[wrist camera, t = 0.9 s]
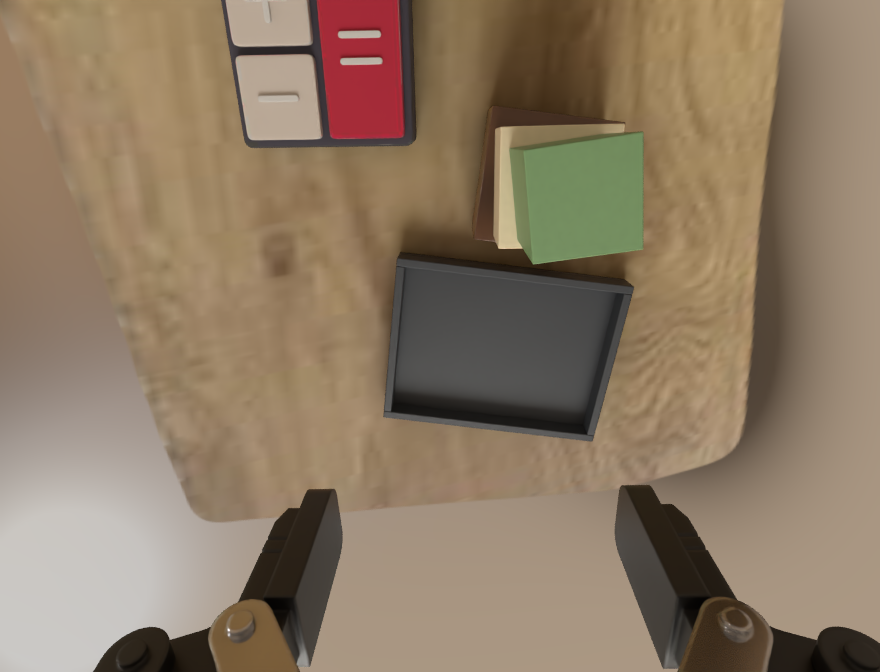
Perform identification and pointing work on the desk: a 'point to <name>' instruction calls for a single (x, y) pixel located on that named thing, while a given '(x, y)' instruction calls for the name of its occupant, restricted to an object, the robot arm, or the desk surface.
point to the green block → (579, 196)
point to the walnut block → (485, 189)
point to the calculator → (323, 72)
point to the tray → (502, 346)
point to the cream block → (502, 172)
